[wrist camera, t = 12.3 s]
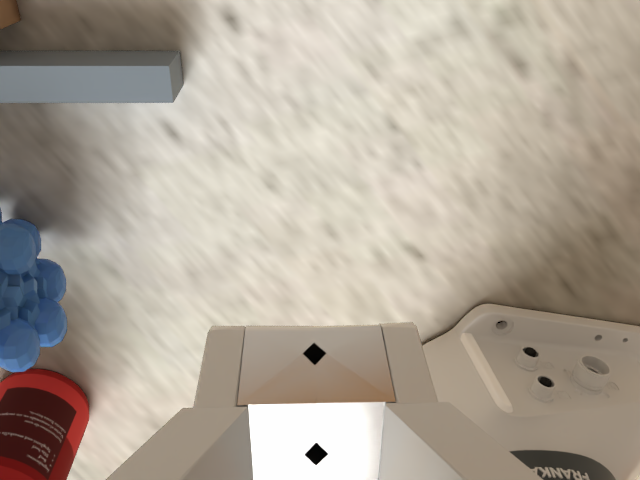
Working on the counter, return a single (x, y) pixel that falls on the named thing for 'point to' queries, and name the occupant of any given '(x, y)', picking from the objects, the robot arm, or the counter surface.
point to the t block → (8, 13)
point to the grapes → (27, 297)
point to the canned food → (40, 425)
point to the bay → (90, 76)
